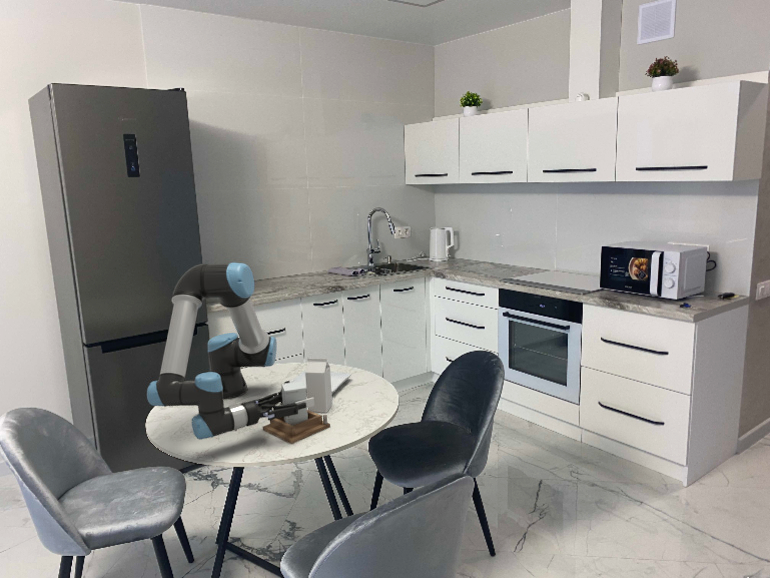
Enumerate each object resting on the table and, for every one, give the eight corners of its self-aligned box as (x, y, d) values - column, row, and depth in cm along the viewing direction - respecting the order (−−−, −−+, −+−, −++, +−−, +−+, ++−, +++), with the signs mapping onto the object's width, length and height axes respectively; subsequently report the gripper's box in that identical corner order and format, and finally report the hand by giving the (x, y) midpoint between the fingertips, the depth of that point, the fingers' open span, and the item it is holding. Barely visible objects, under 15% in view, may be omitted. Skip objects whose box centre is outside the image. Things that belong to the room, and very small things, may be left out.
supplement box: (286, 427, 190) (283, 390, 188) (283, 418, 197) (280, 383, 195) (308, 423, 192) (306, 387, 190) (305, 415, 199) (302, 380, 197)
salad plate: (333, 399, 221) (332, 390, 220) (282, 395, 227) (282, 386, 226) (353, 380, 240) (352, 372, 240) (306, 376, 247) (305, 369, 246)
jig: (262, 429, 195) (261, 418, 195) (301, 414, 207) (300, 403, 206) (291, 443, 184) (290, 431, 184) (330, 427, 195) (329, 415, 195)
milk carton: (326, 413, 207) (323, 362, 204) (307, 412, 209) (304, 361, 205) (332, 405, 214) (329, 355, 210) (314, 404, 216) (310, 355, 212)
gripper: (231, 415, 193) (292, 398, 205) (258, 438, 175) (323, 417, 188) (229, 394, 191) (291, 378, 204) (256, 414, 174) (321, 395, 187)
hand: (306, 397), depth 196 cm, fingers closed on supplement box, 9 cm apart
